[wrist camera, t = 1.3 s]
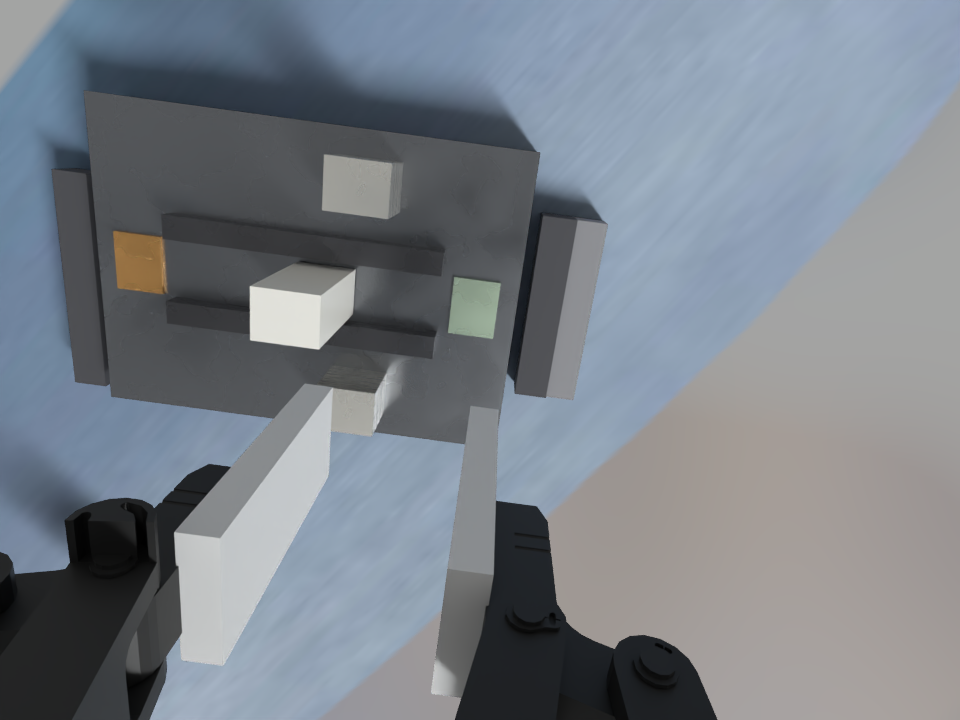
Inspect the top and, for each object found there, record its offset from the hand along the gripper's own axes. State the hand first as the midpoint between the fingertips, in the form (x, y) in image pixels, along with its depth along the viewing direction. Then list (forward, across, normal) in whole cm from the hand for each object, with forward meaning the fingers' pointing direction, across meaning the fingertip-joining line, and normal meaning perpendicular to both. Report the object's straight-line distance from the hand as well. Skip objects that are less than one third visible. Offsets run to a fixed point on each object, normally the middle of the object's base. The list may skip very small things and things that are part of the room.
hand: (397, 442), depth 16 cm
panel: (+19, -8, 0) cm, 20 cm away
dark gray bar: (+19, -20, -2) cm, 28 cm away
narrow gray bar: (+19, +5, 0) cm, 19 cm away
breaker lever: (+16, -6, 0) cm, 17 cm away
